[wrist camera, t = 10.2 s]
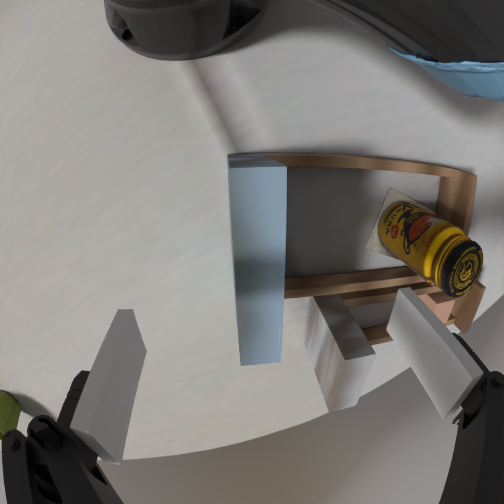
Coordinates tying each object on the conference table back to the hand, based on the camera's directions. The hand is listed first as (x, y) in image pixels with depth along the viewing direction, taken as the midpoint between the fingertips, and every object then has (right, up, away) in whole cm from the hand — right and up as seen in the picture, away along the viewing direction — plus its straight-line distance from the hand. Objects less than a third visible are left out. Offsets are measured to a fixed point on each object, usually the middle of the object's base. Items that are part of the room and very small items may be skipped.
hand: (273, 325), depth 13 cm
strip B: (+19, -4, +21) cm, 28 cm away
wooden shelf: (+10, +7, +15) cm, 19 cm away
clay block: (+24, -3, +21) cm, 33 cm away
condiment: (+17, +6, +16) cm, 24 cm away
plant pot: (-60, -32, +26) cm, 72 cm away
